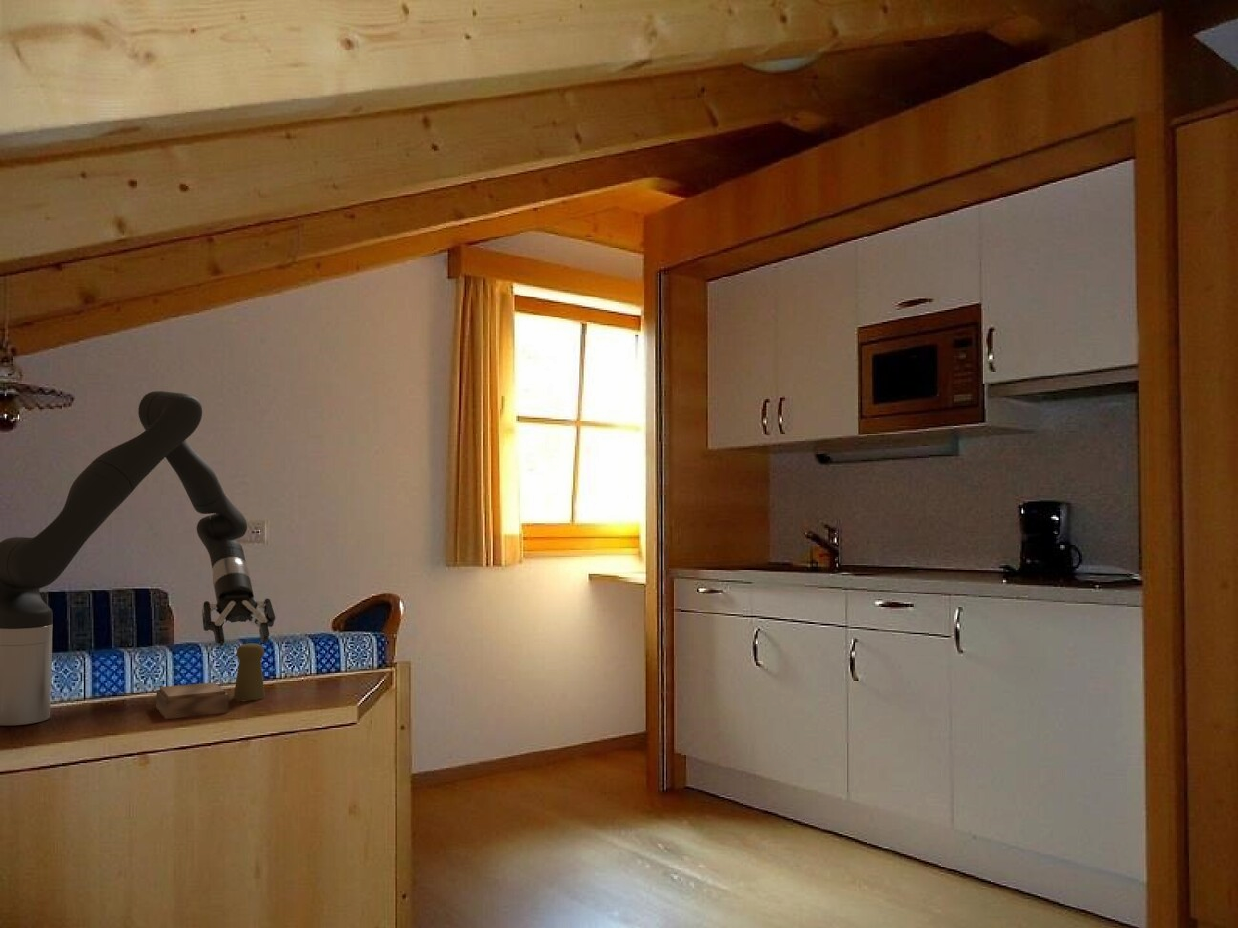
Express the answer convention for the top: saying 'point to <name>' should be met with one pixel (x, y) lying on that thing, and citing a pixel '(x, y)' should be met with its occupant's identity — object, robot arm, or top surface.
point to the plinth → (191, 700)
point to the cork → (249, 673)
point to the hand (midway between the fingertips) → (243, 642)
